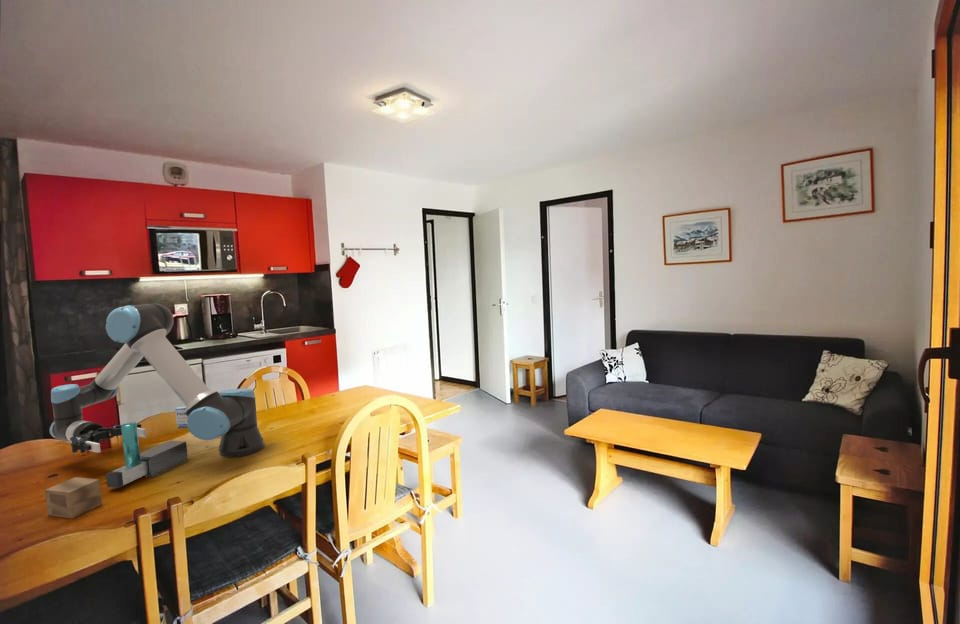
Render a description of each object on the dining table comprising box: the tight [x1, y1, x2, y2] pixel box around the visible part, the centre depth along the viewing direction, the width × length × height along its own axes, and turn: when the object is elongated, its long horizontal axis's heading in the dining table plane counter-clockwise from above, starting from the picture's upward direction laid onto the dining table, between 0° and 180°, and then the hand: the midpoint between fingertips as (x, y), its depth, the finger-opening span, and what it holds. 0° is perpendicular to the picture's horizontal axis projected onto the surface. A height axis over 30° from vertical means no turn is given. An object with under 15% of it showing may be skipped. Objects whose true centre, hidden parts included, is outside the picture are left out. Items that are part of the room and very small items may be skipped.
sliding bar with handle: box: [105, 421, 149, 489], centre depth 155 cm, size 23×4×18 cm, turn 166°
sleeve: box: [140, 440, 189, 478], centre depth 161 cm, size 14×7×7 cm, turn 166°
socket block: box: [44, 476, 103, 519], centre depth 134 cm, size 8×9×8 cm
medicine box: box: [174, 405, 188, 429], centre depth 206 cm, size 8×4×9 cm, turn 99°
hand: (123, 440), depth 152 cm, fingers open, 13 cm apart
